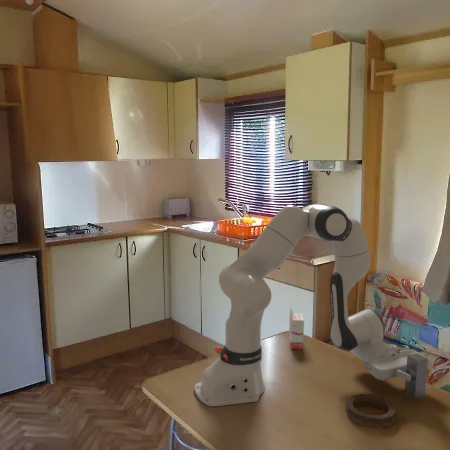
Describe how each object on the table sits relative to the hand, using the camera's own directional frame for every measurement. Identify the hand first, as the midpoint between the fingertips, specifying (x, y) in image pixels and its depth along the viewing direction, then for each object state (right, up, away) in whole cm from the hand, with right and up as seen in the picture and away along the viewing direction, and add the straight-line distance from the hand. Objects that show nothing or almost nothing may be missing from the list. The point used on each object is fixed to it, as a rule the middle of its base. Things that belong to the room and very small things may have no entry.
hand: (418, 376), depth 141 cm
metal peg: (0, -6, +2) cm, 6 cm away
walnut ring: (-16, -10, -4) cm, 19 cm away
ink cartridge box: (-30, -2, +44) cm, 54 cm away
